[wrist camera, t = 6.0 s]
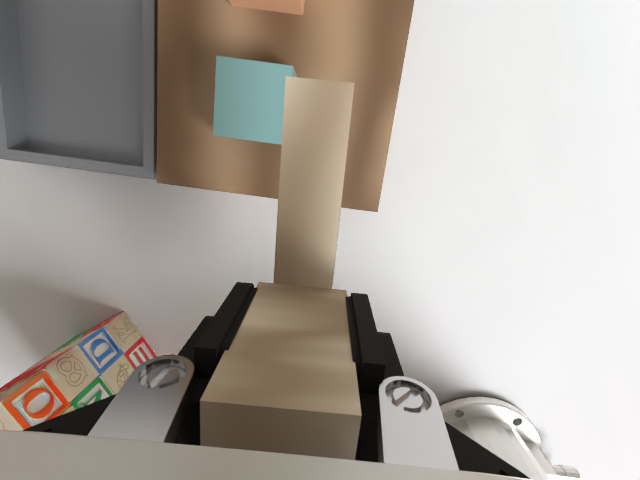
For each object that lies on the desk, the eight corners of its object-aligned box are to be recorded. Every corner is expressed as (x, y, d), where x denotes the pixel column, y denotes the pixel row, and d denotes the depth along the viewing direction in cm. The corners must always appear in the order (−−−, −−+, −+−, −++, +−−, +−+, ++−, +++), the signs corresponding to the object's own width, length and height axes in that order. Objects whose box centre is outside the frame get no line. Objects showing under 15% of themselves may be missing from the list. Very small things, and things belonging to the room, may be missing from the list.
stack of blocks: (242, 472, 36) (197, 631, 24) (194, 492, 37) (127, 654, 25) (123, 308, 31) (-4, 403, 20) (72, 335, 32) (-80, 442, 20)
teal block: (297, 75, 22) (292, 65, 20) (289, 145, 23) (284, 145, 21) (229, 66, 22) (216, 55, 20) (225, 137, 23) (212, 135, 21)
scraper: (363, 96, 12) (423, 13, 4) (321, 445, 17) (316, 708, 9) (280, 88, 12) (196, -8, 4) (261, 439, 17) (202, 698, 9)
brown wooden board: (419, -85, 23) (437, -133, 19) (371, 204, 28) (377, 212, 24) (187, -116, 23) (158, -170, 19) (181, 178, 28) (156, 182, 24)
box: (173, -118, 23) (154, -150, 21) (169, 177, 28) (153, 179, 26) (0, -140, 23) (-40, -175, 21) (27, 158, 28) (-2, 158, 26)
